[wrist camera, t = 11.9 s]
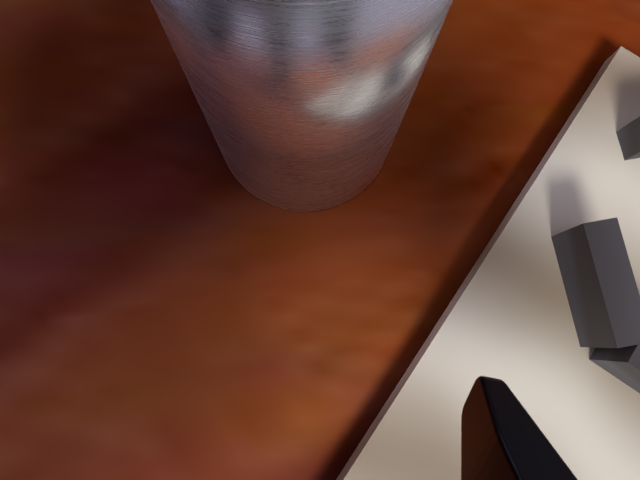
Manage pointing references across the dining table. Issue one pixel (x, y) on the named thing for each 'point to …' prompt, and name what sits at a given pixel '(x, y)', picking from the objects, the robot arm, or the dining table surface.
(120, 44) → the dining table surface
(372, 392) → the dining table surface
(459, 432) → the ring stand
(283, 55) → the grey round cylinder
